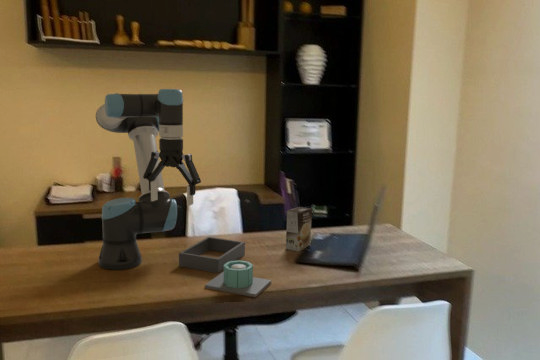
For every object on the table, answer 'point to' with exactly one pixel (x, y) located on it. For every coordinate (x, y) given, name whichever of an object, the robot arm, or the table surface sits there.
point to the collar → (238, 274)
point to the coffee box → (298, 228)
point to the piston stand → (251, 291)
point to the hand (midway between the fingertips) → (172, 202)
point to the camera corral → (216, 265)
